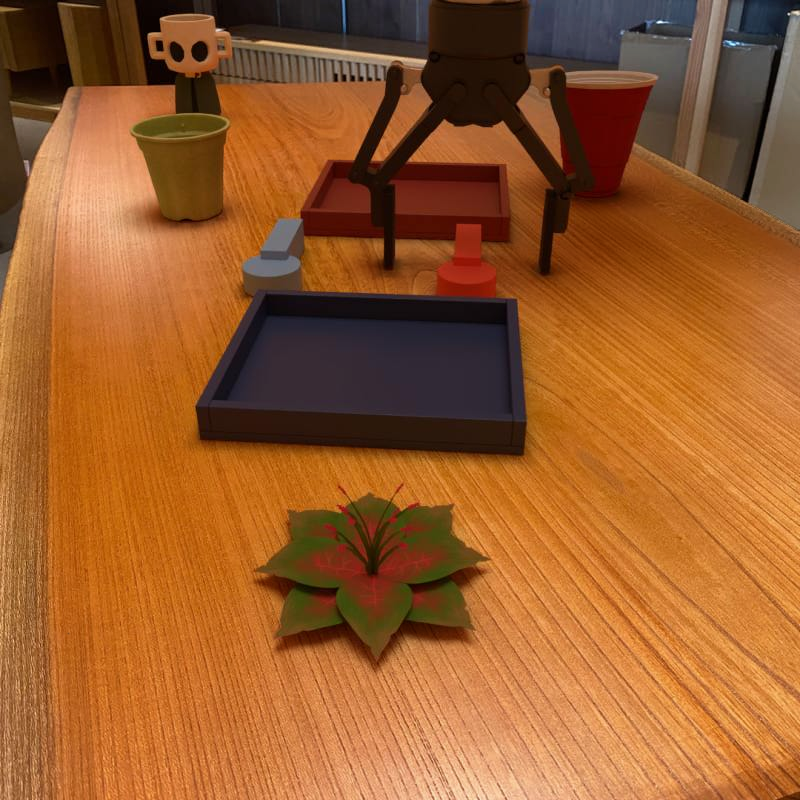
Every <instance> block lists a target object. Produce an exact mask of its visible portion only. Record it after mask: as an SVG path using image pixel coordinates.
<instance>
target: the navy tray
mask: <svg viewBox="0 0 800 800" xmlns="http://www.w3.org/2000/svg"><path fill="white" fill-rule="evenodd" d="M523 368H524V367H523V356H522V343H521V330H520V317H519V305H518V299H517V298H516V297H515V298H514V297H513V298H512V297H507V298H506V297H494V298H490V297H462V296H437V295H431V294H405V293H404V294H403V293H402V294H401V293H378V292H377V293H375V292H350V291H349V292H348V291H324V290H323V291H321V290H299V291H297V290H270V289H269V290H267V289H258V290H257V292H256V294H255V296H254V297H253V298H252V300H251V302H250V303H249V304H248V307H247V309H246V311H245V313H244V314H243V316H242V318H241V320H240V322H239V324H238V326H237V328H236V329H235V331H234V333H233V335H232V337H231V339H230V340H229V343H228V344H227V346H226V348H225V350H224V352H223V354H222V356H221V358H220V359H219V361H218V363H217V364H216V367H215V369H214V370H213V372H212V374H211V376H210V378H209V379H208V381H207V383H206V385H205V387H204V389H203V390H202V393H201V395H200V396H199V398H198V400H197V402H196V404H195V405H194V408H195V414H196V420H197V421H196V422H197V428H198V435H199V439H200V440H212V441H213V440H215V441H216V440H217V441H234V442H235V441H236V442H254V443H256V442H257V443H274V444H275V443H277V444H293V445H294V444H297V445H316V446H317V445H319V446H335V447H355V448H356V447H357V448H375V449H376V448H378V449H397V450H419V451H436V452H438V451H439V452H457V453H458V452H459V453H475V454H476V453H478V454H499V455H500V454H501V455H521V456H523V455H524V454H525V446H526V436H527V425H528V417H527V406H526V405H527V404H526V393H525V380H524V369H523Z"/></svg>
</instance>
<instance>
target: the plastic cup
mask: <svg viewBox="0 0 800 800" xmlns="http://www.w3.org/2000/svg"><path fill="white" fill-rule="evenodd" d="M565 74H566V101H567V104H568V107H569V109H570V112H571V115H572V118H573V120H574V123H575V126H576V129H577V131H578V134H579V137H580V140H581V142H582V145H583V148H584V151H585V154H586V156H587V159H588V162H589V165H590V167H591V170H592V173H593V176H594V178H595V182H596V185H595V187H594V188H593V189H592V190H591V191H585V190H584V191H580V192H577V193H575V194H574V196H580V197H584V198H585V197H587V198H605V197H610V196H613V195H615V194H617V193H618V191H619V188H620V186H621V183H622V180H623V176H624V173H625V170H626V166H627V164H628V163H629V159H630V157H631V156H630V155H631V154H632V149H633V146H634V143H635V141H636V136H637V133H638V129H639V127H640V123H641V120H642V117H643V113H644V111H645V109H646V106H647V102H648V101H649V98H650V94H651V92H652V90H653V88H654V85H656V84H657V82H658V80H659V76H658V75H657V74H652V73H648V72H640V71H629V70H578V71H569V72H565ZM558 129H559V128H558ZM559 147H560V158H561V163H562V165H561V166H562V169H563V171H564V172H565V173H566V175H569V174H572V173H575V169H574V167H573V164H572V161H571V159H570V156H569V153H568V151H567V148H566V145H565V142H564V140H563V137H562V134H561V132H560V129H559Z"/></svg>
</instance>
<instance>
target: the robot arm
mask: <svg viewBox="0 0 800 800" xmlns="http://www.w3.org/2000/svg"><path fill="white" fill-rule="evenodd" d="M530 14H531V4H530V3H529V1H528V0H431V1H430V2H429V3H428V24H427V25H428V29H427V57H426V58H427V59H426V62H425V64H424V65H423V67H422V66H415V65H407V64H404V63H403V62H402V61H401V60H398V59H397V60H393V61H392V62H391V63H390V64H389V66H388V68H387V71H386V77H385V85H384V86H385V87H384V95H383V98H382V100H381V102H380V104H379V106H378V109H377V111H376V113H375V115H374V117H373V119H372V121H371V124H370V126H369V128H368V129H367V132H366V135H365V136H364V139H363V141H362V143H361V144H360V148H359V149H358V152H357V153H356V156H355V158H354V159H353V160H354V162H353V164H352V167H351V169H350V171H349V173H348V179H349V181H350V182H351V183H353V184H361V185H364V186H366V187H367V188H368V189H369V191H370V198H371V223H372V225H373V227H384V237H383V268H388V269H389V268H393V267H394V264H395V263H394V262H395V258H396V238H395V184H388V183H389V182H390V181H391V179H392V178H393V177H394V176H395V175H396V174H397V173H398V171H399V170H400V169H401V168H402V167H403V166H404V164H405V163H406V162H409V160H410V159H411V158H412V156H413V155H414V154H415V153H416V152H417V150H419V148H420V147H421V146H422V145H423V144H424V142H425V141H426V140H427V139H428V138H429V136H430V135H432V133H434V132H435V131H436V130H437V129H438V128H439V126H440V125H441V124H442V123H443V122H444V121H446V122H447V123H449V124H450V125H453V127H457V128H458V127H459V128H460V127H461V128H464V127H468V126H472V125H473V126H478V127H481V128H492V129H493V128H494V126H496V125H499V124H500V123H502V122H503V123H504V124H505V126H506V128H508V130H509V131H510V133H511V134H512V135H513V136H514V137H515V138H516V139H517V141H518V142H519V143H520V145H521V146H522V148H523V149H524V150H525V152H526V153H527V155H528V156H529V157H530V159H531V160H532V161H533V163H534V164H535V166H536V167H537V168H538V170H539V171H540V173H541V174H542V175H543V176H544V178H545V180H546V181H547V182H548V183H549V185H550V186H551V187H552V188H545V191H544V192H545V193H544V202H543V214H542V223H541V233H540V244H539V253H538V254H539V255H538V266H539V273H540V274H547V275H549V274H550V272H551V271H550V270H551V262H552V261H551V259H552V252H553V243H554V234H565V233H566V231H567V229H568V226H569V216H570V208H571V200H572V198H573V196H575V193H577V192H580V191H584V190H585V191H591V190H592V189H593V188H594V187H595V185H596V182H595V178H594V176H593V173H592V170H591V167H590V165H589V162H588V159H587V156H586V154H585V151H584V148H583V145H582V142H581V140H580V137H579V134H578V131H577V129H576V126H575V123H574V120H573V118H572V115H571V112H570V109H569V107H568V104H567V101H566V74H565V73H566V71H565V69H564V67H563V65H562V64H560V63H553V64H551V65H550V67H548V68H535V69H530V68H529V67H528V66H529V65H528V63H527V52H528V41H529V39H528V38H529V28H530V27H529V26H530V16H531V15H530ZM416 84H421V86H422V88H423V89H424V91H425V92H426V94H427V95H428V97H429V98H430V100H431V103H430V104H429V105H428V106H427V107H426V109H425V110H424V111H423V113H422V114H421V116H420V117H419V118H418V119H417V120H416V121H415V123H414V124H413V125H412V126H411V127H410V128H409V130H408V131H407V132H406V134H405V135H403V137H402V138H401V139H400V140H399V142H398V143H397V144H396V145H395V146H394V147H393V149H392V150H391V151H390V152H389V154H387V156H386V157H385V159H383V160H382V161H383V162H382V163H381V164H380V166H379V167H378V168H377V169H374V168H371V167H369V164H370V162H371V161H373V157H374V155H375V154H376V151H377V149H378V147H379V145H380V142H381V141H382V139H383V136H384V134H385V132H386V130H387V128H388V126H389V123H390V121H391V120H392V118H393V115H394V114H395V111H396V108H397V106H398V105H399V102H400V99H401V97H402V96H407V95H409V94H410V93H411V91H412V89H413V87H414V86H416ZM530 86H534V87H535V88H536V89H537V90H538V93H539V95H540V97H541V98H542V99H545V100H546V99H548V100H549V103H550V107H551V110H552V112H553V116H554V118H555V121H556V123H557V126H558V129H560V132H561V134H562V137H563V140H564V142H565V145H566V148H567V151H568V153H569V156H570V159H571V161H572V164H573V167H574V169H575V173H572V174H569V175H566V173H565V172H564V171H563V167H562V165H560V164H559V162H558V160H556V158H555V157H554V155H553V154H552V152H551V151H550V150H549V148H548V147H547V145H546V144H545V142H544V141H543V140H542V138H541V137H540V135H539V134H538V133H537V131H536V130H535V128H534V127H533V126H532V124H531V123H530V121H529V120H528V119H527V117H526V115H525V114H524V112H523V111H522V109H521V108H520V106H519V105H518V103H519V101H521V99H522V97H523V96H524V95H525V94H526V92H528V91H529V88H530ZM560 132H559V133H560Z"/></svg>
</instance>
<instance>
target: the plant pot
mask: <svg viewBox="0 0 800 800" xmlns="http://www.w3.org/2000/svg"><path fill="white" fill-rule="evenodd" d="M230 127H231V122H230V120H229V119H228V118H226V117H223V116H221V115H220V116H216V115H211V114H201V113H184V114H176V113H175V114H164V115H157V116H154V117H148V118H144V119H142V120H139V121H136V122H135V123H133V124H132V125H131V126H130V127H129V129H128V130H129V134H130V135H131V137H133V138H134V139H135V141H136V143H137V146H138V149H139V150H140V151H141V152H142V155H143V158H144V161H145V164H146V167H147V170H148V173H149V177H150V180H151V184H152V186H153V189H154V193H155V196H156V199H157V203H158V205H159V209H160V212H161V215H162V216H163V217H164V218H166V219H168V220H172V221H174V222H175V221H176V222H177V221H179V222H180V221H182V220H184V219H188V220H192V221H203V220H205V219H206V220H207V219H210V218H212V217H215V216H218V214H220V213H221V212H222V209H223V207H224V165H225V163H224V161H225V159H224V158H225V157H224V156H225V144H226V142H227V133H228V131H229V130H230Z"/></svg>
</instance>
